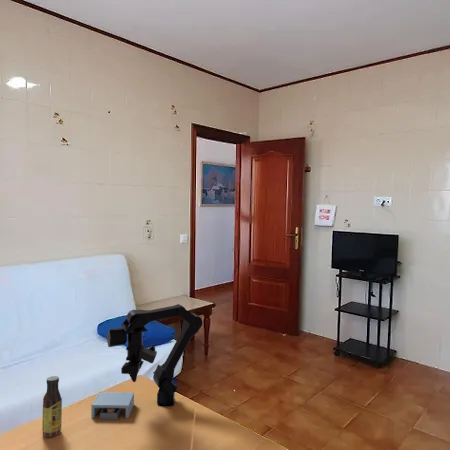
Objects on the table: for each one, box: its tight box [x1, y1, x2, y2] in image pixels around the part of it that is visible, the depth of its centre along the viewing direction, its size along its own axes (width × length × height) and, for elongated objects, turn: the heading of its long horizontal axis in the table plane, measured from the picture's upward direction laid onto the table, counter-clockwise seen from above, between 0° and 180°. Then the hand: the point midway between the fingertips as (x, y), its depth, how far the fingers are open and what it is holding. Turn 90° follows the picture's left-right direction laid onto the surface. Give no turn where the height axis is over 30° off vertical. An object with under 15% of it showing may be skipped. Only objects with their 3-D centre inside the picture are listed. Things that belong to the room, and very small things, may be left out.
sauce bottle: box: [41, 375, 63, 438], centre depth 137 cm, size 7×6×20 cm
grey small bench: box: [90, 391, 135, 419], centre depth 152 cm, size 14×10×6 cm
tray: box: [99, 408, 123, 421], centre depth 150 cm, size 6×8×3 cm
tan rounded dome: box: [107, 408, 116, 413], centre depth 150 cm, size 3×3×2 cm
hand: (134, 381), depth 153 cm, fingers closed
